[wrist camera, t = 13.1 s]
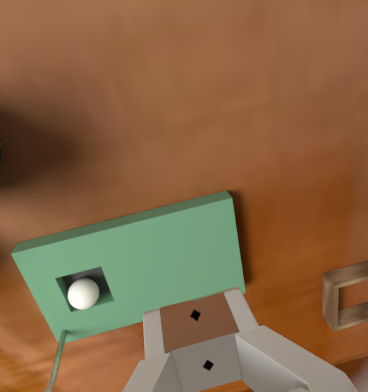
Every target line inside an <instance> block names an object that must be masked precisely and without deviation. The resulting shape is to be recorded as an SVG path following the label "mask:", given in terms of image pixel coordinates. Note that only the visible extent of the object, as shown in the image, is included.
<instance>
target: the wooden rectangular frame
mask: <svg viewBox="0 0 368 392" xmlns="http://www.w3.org/2000/svg"><path fill="white" fill-rule="evenodd" d="M365 280H368V261H366V262H362V263H359V264H355V265H351V266H348V267H344V268H341V269H337V270H333V271H330V272H326V273H323V319H324V320H325V322H326V323H327V324H328V326H329V327H330V328H331V329H332V331H333V332H334V331H337V330H340V329H344V328H347V327H351V326H354V325H357V324H361V323H364V322H368V302H366V303H363V304H359V305H356V306H352V307H349V308H345V309H342V310H338V296H339V288H340V287H344V286H348V285H351V284H355V283H358V282H362V281H365Z"/></svg>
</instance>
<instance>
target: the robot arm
mask: <svg viewBox="0 0 368 392" xmlns="http://www.w3.org/2000/svg"><path fill="white" fill-rule="evenodd" d="M143 327H144V347H145V359H144V360H141V361H140V362H139V363H138V365H137V367H136V369H135V370H134V372H133V374H132V376H131V378H130V379H129V381H128V383H127V385H126V386H125V388H124V390H123V392H199V391H202V390H205V389H208V388H211V387H215V386H218V385H222V384H226V383H230V382H233V381H237V380H241V379H243V381H244V382H245V383H246V384H247V385H248V386H249V387H250V388H251V389H252V390H253V391H254V392H358V391H357V390H356V389H355V387H354V385H353V384H352V383H351V381H350V380H349V378H348V377H347V375H346V374H345V373H344V372H342V371H340V370H339V369H337V368H335V367H334V366H332V365H330V364H329V363H327V362H325V361H324V360H322V359H320V358H319V357H317V356H315V355H313V354H312V353H310V352H308V351H307V350H305V349H303V348H302V347H300V346H298V345H297V344H295V343H293V342H291V341H290V340H288V339H286V338H285V337H283V336H281V335H280V334H278V333H276V332H275V331H273V330H271V329H270V328H268V327H266V326H264V325H263V326H259V325H258V323H257V321H256V319H255V317H254V316H253V314H252V312H251V310H250V308H249V306H248V304H247V302H246V300H245V298H244V296H243V294H242V292H241V290H240V288H239V287H238V286H237V287H233V288H230V289H226V290H223V291H220V292H217V293H213V294H210V295H206V296H202V297H199V298H195V299H192V300H189V301H185V302H181V303H177V304H172V305H168V306H164V307H160V308H158V309H154V310H150V311H146V312H144V314H143Z"/></svg>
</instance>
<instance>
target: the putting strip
mask: <svg viewBox="0 0 368 392" xmlns="http://www.w3.org/2000/svg"><path fill="white" fill-rule="evenodd" d="M11 255H12V257H13V259H14V261H15V263H16V265H17V266H18V268H19V270H20V272H21V274H22V276H23V278H24V280H25V281H26V283H27V285H28V287H29V289H30V291H31V293H32V295H33V297H34V298H35V300H36V302H37V304H38V306H39V308H40V310H41V312H42V313H43V315H44V317H45V319H46V321H47V323H48V325H49V327H50V329H51V330H52V332H53V334H54V336H55V338H56V340H57V342H58V343H59V339H60V335H61V332H62V330H67V336H66V340H65V343H67V342H70V341H74V340H77V339H81V338H85V337H88V336H92V335H95V334H99V333H103V332H106V331H110V330H113V329H117V328H121V327H124V326H128V325H131V324H135V323H139V322H142V321H143V314H144V312H146V311H150V310H154V309H158V308H160V307H164V306H168V305H172V304H177V303H181V302H185V301H189V300H192V299H195V298H199V297H202V296H206V295H210V294H213V293H217V292H220V291H223V290H226V289H230V288H233V287H237V286H238V287H239V288H240V290H241V292H242V294H243V293H246V292H245V285H244V278H243V271H242V263H241V256H240V249H239V242H238V235H237V228H236V221H235V214H234V207H233V200H232V197H231V196H230V194H229V193H228V192H227V191H223V192H219V193H215V194H211V195H207V196H203V197H199V198H195V199H191V200H187V201H183V202H179V203H175V204H171V205H167V206H163V207H159V208H155V209H151V210H147V211H143V212H139V213H135V214H131V215H127V216H123V217H119V218H115V219H111V220H107V221H103V222H99V223H95V224H91V225H87V226H83V227H79V228H75V229H72V230H68V231H64V232H60V233H56V234H52V235H48V236H44V237H40V238H36V239H32V240H28V241H24V242H20V243H18V244H17V245H16V247H15V248H14V250H13V251H12V253H11ZM82 278H88V279H91V280H93V281H94V282H95V283H96V284H97V286H98V288H99V297H98V299H97V301H96V303H95V304H94V305H93V306H91V307H90V308H88V309H83V310H81V309H77V308H74V307H73V306H72V305H71V304H70V302H69V300H68V291H69V288H70V286H71V285H72V284H73V283H74V282H75V281H77V280H79V279H82Z"/></svg>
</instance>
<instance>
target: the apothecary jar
mask: <svg viewBox="0 0 368 392" xmlns="http://www.w3.org/2000/svg"><path fill="white" fill-rule="evenodd" d="M2 165H3V149H2V145H1V142H0V170H1V168H2Z"/></svg>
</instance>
